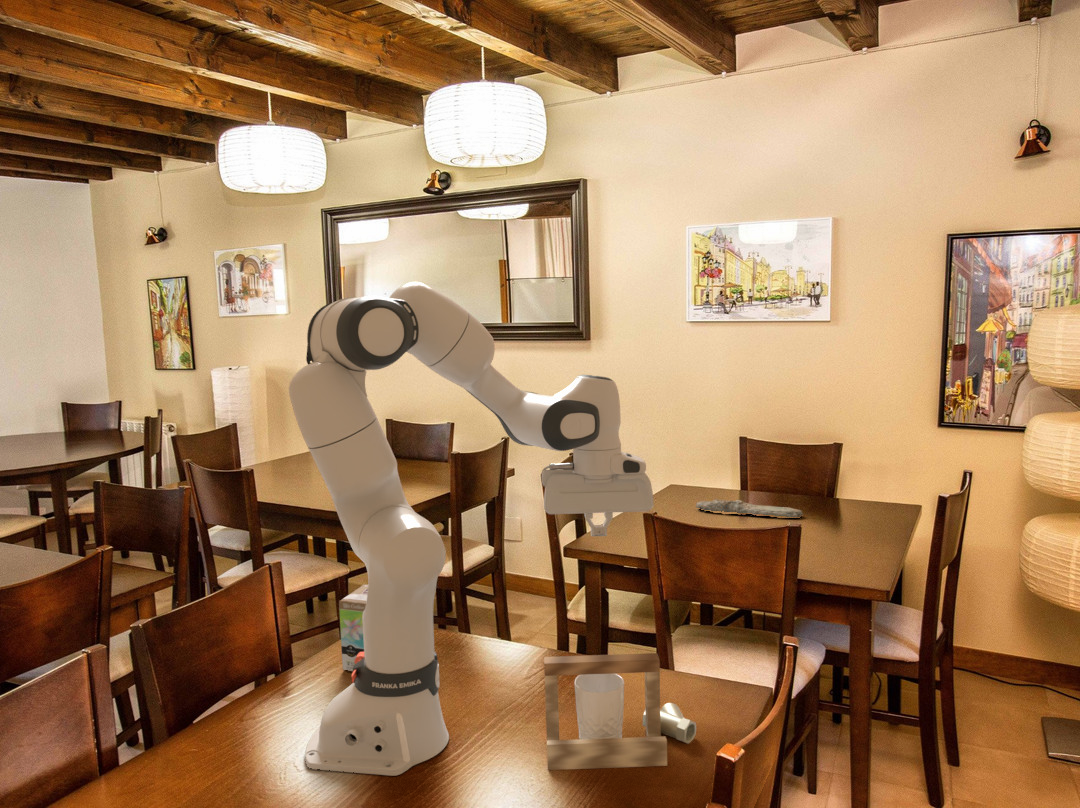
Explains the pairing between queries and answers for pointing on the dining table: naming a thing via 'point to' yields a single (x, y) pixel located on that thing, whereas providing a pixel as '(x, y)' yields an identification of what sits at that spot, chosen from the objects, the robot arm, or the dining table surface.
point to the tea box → (352, 625)
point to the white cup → (599, 705)
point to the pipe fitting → (675, 723)
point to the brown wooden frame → (607, 749)
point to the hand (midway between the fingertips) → (598, 535)
